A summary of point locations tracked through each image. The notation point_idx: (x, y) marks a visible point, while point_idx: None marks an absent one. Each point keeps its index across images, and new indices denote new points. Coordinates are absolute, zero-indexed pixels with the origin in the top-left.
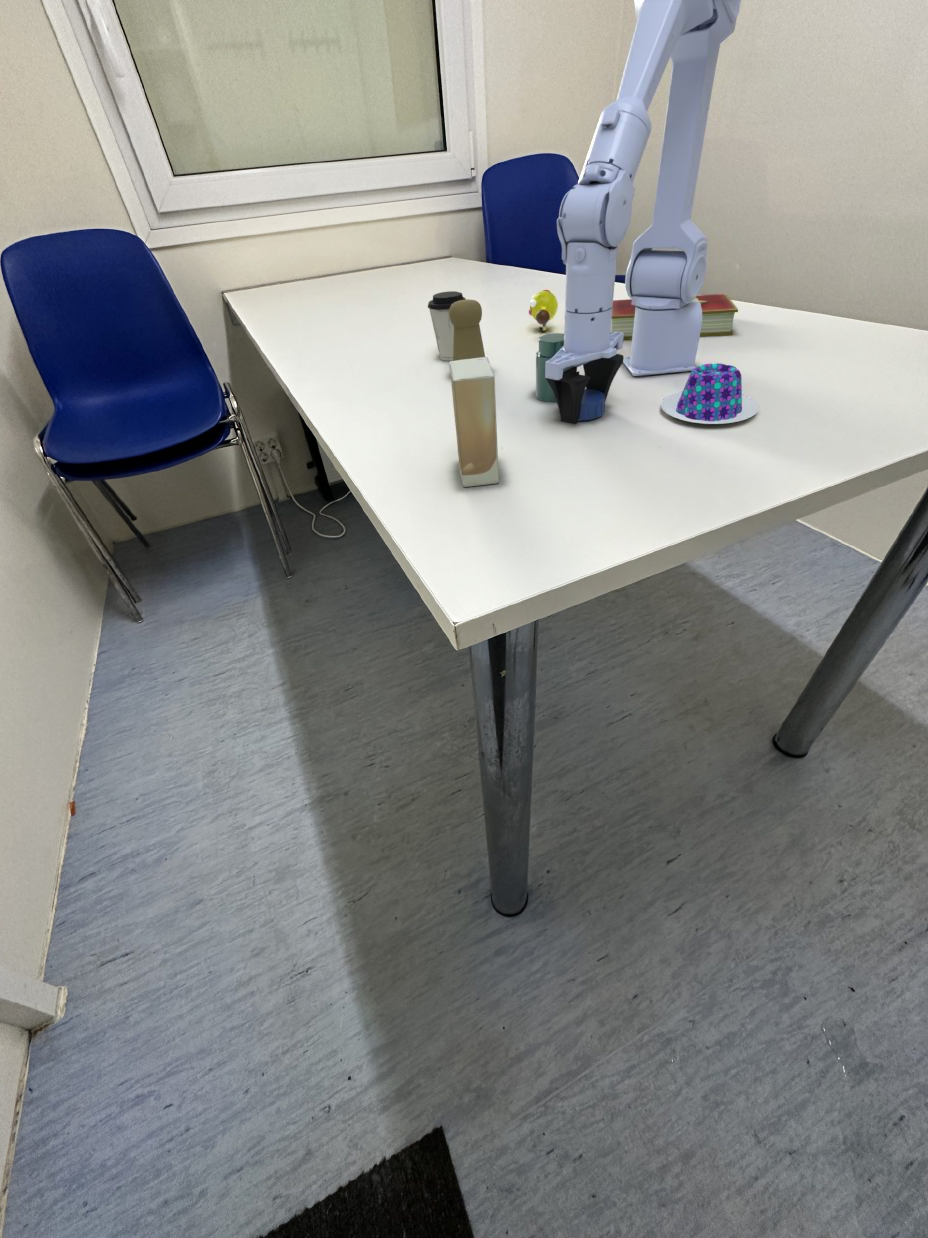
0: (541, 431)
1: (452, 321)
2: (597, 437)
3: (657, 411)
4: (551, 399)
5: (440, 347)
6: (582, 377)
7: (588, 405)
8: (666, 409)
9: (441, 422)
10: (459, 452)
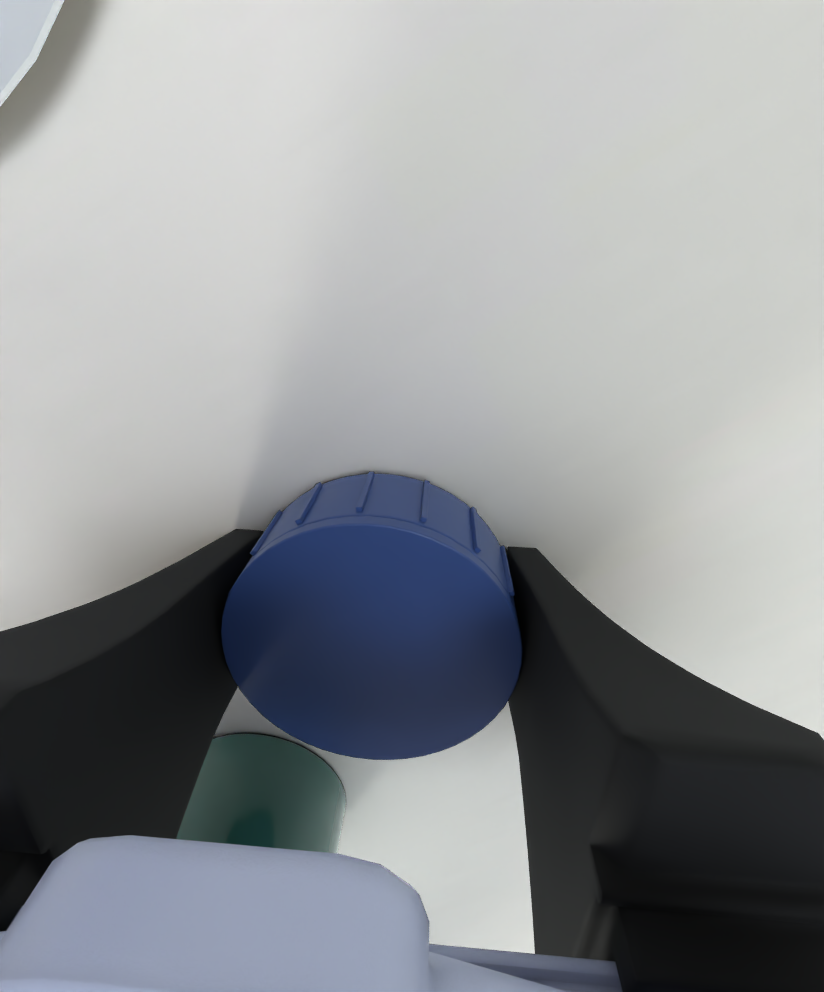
0: (702, 647)
1: None
2: (684, 323)
3: (40, 155)
4: (330, 777)
5: None
6: (730, 801)
7: (480, 562)
8: (3, 33)
9: None
10: None
